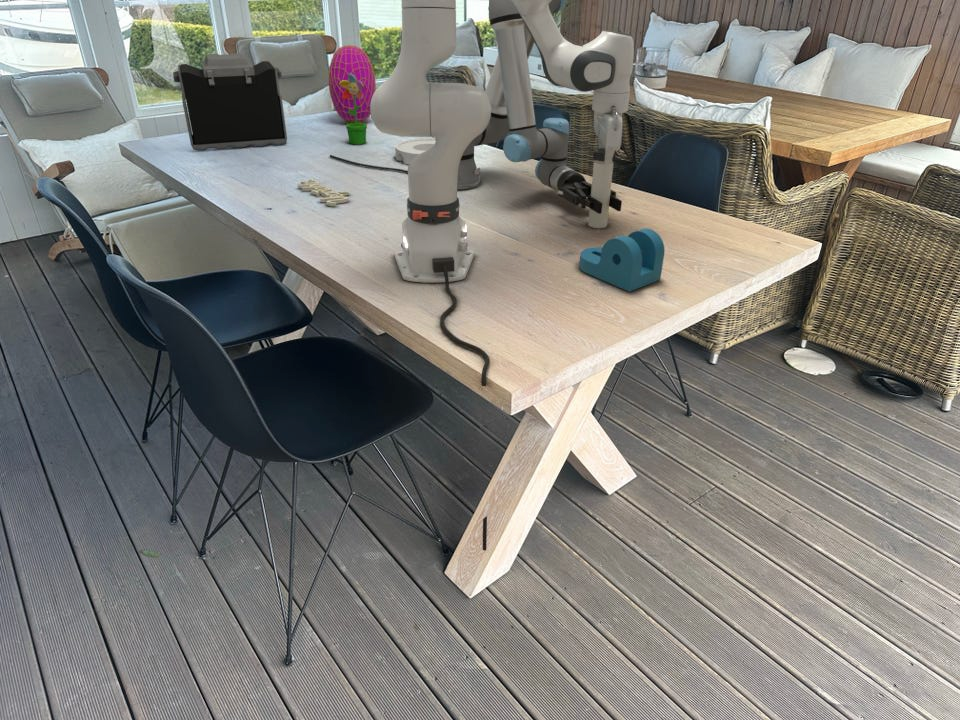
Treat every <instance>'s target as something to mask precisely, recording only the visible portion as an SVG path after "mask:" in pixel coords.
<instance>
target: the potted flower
mask: <svg viewBox="0 0 960 720" xmlns="http://www.w3.org/2000/svg"><path fill="white" fill-rule="evenodd" d="M348 78H349V81H346V80H342V81H341V82H340V83H339V84H340V85H341V86H342V87H343V88H346V89H347V90H345V91H344V93H343V94H342V97H341V99H348V98H350V97H351V96H352V95H353V100H354V110H349V111H348V112H349V114H351V115H355V123H349V122H348V123H347V124H346V125H345V128H346V131H347V136H348V141H349V144H352V145H363V144H366V143H367V129H368V124H367V123H366V122H365V123H364V122H361V123H357V116H356V110H358V109H359V106H356V103H355V95H356V97H357V98H358V99H359V100H362V98H363V93H362V92H361V91H360V90H361V89H363V84H362V82H361V81H358V82H357V83H356V78H355V76H354V75H352V74H350V73H348Z"/></svg>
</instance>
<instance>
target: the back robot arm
mask: <svg viewBox="0 0 960 720" xmlns="http://www.w3.org/2000/svg"><path fill="white" fill-rule="evenodd" d="M566 1H567V0H552V1H551V2H550V3H549V10H550V13H551V15H552V16H553V14H557V13H558V12H560V11H561V10H562V9H563V8H564V6H565V5H566ZM488 19H489V25H490V28H491V29H492V30H493V31H494V33H495V41H496V47H497V53H498V54H497V57H496V60H495V62H494V65H493V68H492V71H491V74H490V77H489V80H488V83H487V85H486V88H485V90H484V91H485V92H486V94H487V96H488V98H489V100H490V104H491V117H490V121H489V123H488V125H487V127H486V128H485V130H484V131H483V132H482V133H481V134H479V135H478V136H477V137H476V138H474V139H473V140H472V141H471V142H470V144H469V145H468V146H467V148H466V149H465V151H464V153H463V155H462V157H461V160H460V163H459V168H458V179H457V191H464V190H471V189H474V188H477V187H479V186H480V184H481V182H480V181H481V180H480V179H481V177H480V174H479V173H480V172H481V167H480V166H479V167H477V164H476V161H475V147H479V146H483V145H489V144H496V143H500V142H502V141H503V145H502V151H503V154H504V156H505V157H506V159H507V160H508V161H509V162H512V163H522V162H524V163H525V162H528V161H530V160H534V159H538V158H540V160H538V162H537V164H536V166H535V167H534V173H535V177H536V179H537V180H538V181H539V182H540V183H541V184H542V185H544V186H546V187H549V188H550V189H552V190H553V191H555V192H557V196H558V198H562V199H564V200H565V201H567V202H569V203H570V204H571V205H573V206H575V207H579V206H580V209H586V208H588V209H589V210H590V209H592V210H593V211H595V212H597V213H598V214H601V212H602V203H601V202H599V201H598V200H596V199H594V198H593V197H591V188H592V183H590V182H587V180H586V178H585V176H584V175H583V174H581V173H579V172H578V171H576V170H574V169H572V168H570V167H568V166H567V161H568V149H569V137H570V123H569V121H568V119H565V118H563V117H562V118H561V117H549V118H545V119H544V120H543V122H542V126H541V128H537V123H536V115H535V109H534V99H533V91H532V84H531V75H530V68H529V67H530V66H529V59H530V56H531V53H532V50H533V48H534V46H535V42H534V41H533V39H532V37H531V35H530V33H529V31H528V29H527V27H526V25H525V24H524V22H523V20H522V18H521V15H520V13H519V12H518V10H517V8H516V7H515V5H514V4H513V2H512V1H511V0H488ZM329 158H331V159H335V160H338V161H340V162H345V163H348V164H351V165H355V166H359V167H364V168H365V167H366V168H370V169H371V168H372V169H377V170H378V169H379V170H386V171H395V172H401V173H406V174H408V170H406V169H403V168H395V167H387V166H380V165H379V166H378V165H372V164H366V163H360V162H357V161H353V160H349V159H345V158H342V157H338V156H336V155H333V154H329ZM622 202H623V200H621V199H619V198H618V197H617V192H616V191H615V190H614V189H611V192H610V202H609V208H612V209H614V210H615V211H616V212H621V211H622V204H623V203H622Z"/></svg>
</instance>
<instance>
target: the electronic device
mask: <svg viewBox="0 0 960 720" xmlns="http://www.w3.org/2000/svg"><path fill="white" fill-rule="evenodd" d="M200 65H201V68H199V67H196V66H193V65H190V64H189V63H188V64H187V63H181V64H180V63H179V64H178V65H177V71H173V72H172V78H173V82H174V83H179V84H180V90H181V101H182V108H183V112H184V117H185V122H186V127H187V132H188V138H189V142H190V146H191V148H192V150H193V151H198V152H203V151H206V150H208V149H215V150H226V149H227V148H232V147H233V148H235V149H244V148H246V147H248V146H256V147H265V146H266V145H275V146H282V145H285V144H286V143H287V141H288V134H287V126H286V119H285V110H284V104H283V97H282V95H281V91H280V84H279V83H280V82H279V79H280V78H283V75H282V71H281V70H280V68H278V67H275V66H274V65H273V64H272V63H271V62H270V61H269V60H262V61H260V62H258V63H256V64H254V65H253V64H252V63H251V61H250V60H249V59H248V58H247V59H246V57H245V56H244V54H243V53H242V52H233V53H229V54H219V53H206V54H205V59H204V60H201V61H200Z"/></svg>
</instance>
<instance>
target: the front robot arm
mask: <svg viewBox="0 0 960 720" xmlns="http://www.w3.org/2000/svg"><path fill="white" fill-rule="evenodd" d="M400 1H401V44H400V53H399V57H398V60H397V63H396V65H395V67H394V69H393V71H392V72H391V74H390V75H389V76H388V78H387V79H386V80H385V81H384V82H383V83H382V84H381V85H379V86H378V87H377V88H376V91H375V93H374V94H373V96H372V99H371V103H370V113H371V114H370V117H371V120H372V122H373V125H374V126H375V128H376V129H377V130H378V131H379V132H380V133H382V134H386V135H391V136H396V137H401V138H431V139H436V142H435V144H434V146H433V147H432V148H430V149H429V150H427V151H425V152H423V153H421V154H419V155H418V156H416V157H415V158H414V159H412V161H411V162H410V164H409V165H408V168H407V171H408V173H407V184H408V186H407V187H408V198H407V199H406V211H407V213H406V214H407V217H406V218H405V219H404V220H403V221H402V223H401V231H402V242H401V244H400V247H401V249H400V250H397V251H395V252H394V259H395V262H396V264H397V267H398V269H399V272H400V274H401V277H402V279H403V280H405V281H408V282H414V283H431V284H433V283H435V284H437V283H444V286H445V291H446V293H447V295H448V296H449V297H450V298H451V300H452V304H451V305H450V306H449V307H448V308H447V309H446V310H445V311H443V312H442V314H441V315H440V317H439V318H440V319H439V324H440V328H441V329H442V331H443V332H444V333H445V334H446V335H447V336H448V337H449V338H450V339H451V340H452V341H454V342H455V343H457V344H459V345H461V346H463V347H465V348H468V349H470V350H473V351H476V352H477V353H479V354H480V355H481V356H482V357H483V359H484V360H485V361H484V364H483V367H482V369H481V386H482V387H487V372H488V369H489V367H490V362H491V361H490V360H491V359H490V357H489V355H488V354H487V352H486V351H485V350H483V349H482V348H481V347H479V346H476V345H475V344H472V343H469V342H466V341H464V340H461V339H460V338H458V337H456V336H455V335H454V334H453V333H452V332H451V331H449V329H448V328H447V326H446V324H445V318H446V317H447V315H448V314H450V312H452V311H453V310H454V309H455V308H456V306H457V305H458V299H457V297H456V296H455V295H454V294H453V293H452V291H451V289H450V283H451V282H457V281H461V280H464V279H466V277H467V274H468V273H469V269H470V267H471V265H472V262H473V260H474V257H475V251H473V250H471V249H468V245H469V243H468V242H467V241H466V238H467V236H468V232H467V225H466V221H465V220H464V219H463V218H461V216H460V208H461V207H460V206H461V205H460V198H459V197H458V190H457V179H458V168H459V163H460V160H461V157H462V155H463V153H464V151H465V149H466V148H467V146H468V145H469V144H470V142H471V141H472V140H473V139H474V138H476V137H477V136H478V135H479V134H481V133H482V132H483V131H484V130H485V128H486V127H487V125H488V123H489V121H490V117H491V104H490V100H489V98H488V96H487V94H486V92H485V90H484V89H483V88H482V87H481V86H476V85H472V84H468V83H462V82H430V81H428V80H427V76H428V75H427V74H428V73H429V72H430V71H431V70H432V69H433V68H436V67H437V66H439V65H441V64H443V63H445V62H446V61H448V60H449V59H450V58H451V57H452V56H453V55H454V52H455V51H456V48H457V10H456V9H457V0H400ZM511 1H512V2H513V4H514V5H515V7H516V8H517V10H518V12H519V13H520V15H521V18H522V20H523V22H524V24H525V25H526V27H527V29H528V31H529V33H530V35H531V37H532V39H533V41H534V42H535V43H534V45H535V46H536V48H537V50H538V53H539V55H540V61H541V65H542V70H543V74H544V75H545V78H546V80H547V81H548V82H549V83H550V84H551V85H553V86H555V87H560V88H561V87H562V88H567V89H570V90H573V91H577V92H582V93H586V92H592V94H593V95H592V102H591V104H592V105H591V111H593V131H594V134H595V135H596V137H597V141H598V149H605V156H604V164H605V165H611V164H612V158H613V155H614V152H615V153H616V151H619V150H620V149H621V147H622V140H623V139H622V137H623V123H624V122H623V114H624V113H627V112H628V111H629V103H630V96H631V95H630V94H631V83H630V80H631V76H632V74H633V68H634V59H635V43H634V38H633V37H632V36H631V34H630V33H627V32H623V31H619V30H618V31H617V30H613V29H605V30H602V31H601V32H600V34H599V35H598V36H596V38H594V39H592V40H591V41H589V42H587V43H585V44H583V45H577V44H573V43H572V42H570V41H569V40H567V39H566V38H565V37H564V36H563V34H562V33H561V31H560V29H559V27H558V25H557V23H556V21H555V19H554V16H553V14H552V15H551V13H550V10H549V3H550V2H551V1H552V0H511ZM487 534H488V515H486V516H485V517H484V518H482V551H484V552H485V551H487V538H488V537H487V536H488V535H487Z"/></svg>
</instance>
